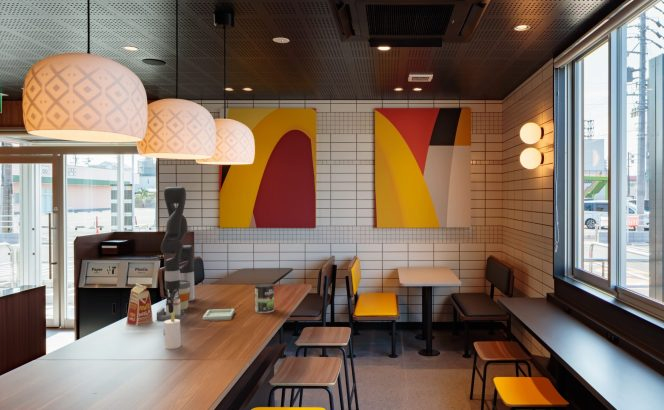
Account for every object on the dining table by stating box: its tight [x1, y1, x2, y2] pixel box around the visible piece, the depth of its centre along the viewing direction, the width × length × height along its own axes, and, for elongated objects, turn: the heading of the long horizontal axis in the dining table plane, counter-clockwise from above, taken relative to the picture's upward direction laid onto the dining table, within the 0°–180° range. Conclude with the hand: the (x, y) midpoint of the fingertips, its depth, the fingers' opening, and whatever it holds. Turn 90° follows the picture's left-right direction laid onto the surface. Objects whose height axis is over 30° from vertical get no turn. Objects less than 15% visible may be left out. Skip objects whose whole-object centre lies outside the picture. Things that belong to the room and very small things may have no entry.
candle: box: [163, 311, 182, 350], centre depth 178 cm, size 6×6×15 cm
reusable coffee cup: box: [166, 280, 190, 311], centre depth 239 cm, size 13×13×15 cm
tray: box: [202, 308, 235, 322], centre depth 222 cm, size 14×14×2 cm
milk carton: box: [125, 282, 153, 327], centre depth 212 cm, size 9×9×20 cm
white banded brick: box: [165, 299, 181, 315], centre depth 220 cm, size 4×6×9 cm
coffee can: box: [254, 282, 275, 314], centre depth 232 cm, size 10×10×14 cm
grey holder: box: [155, 307, 188, 322], centre depth 220 cm, size 11×13×5 cm
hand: (173, 310), depth 220 cm, fingers open, 8 cm apart
